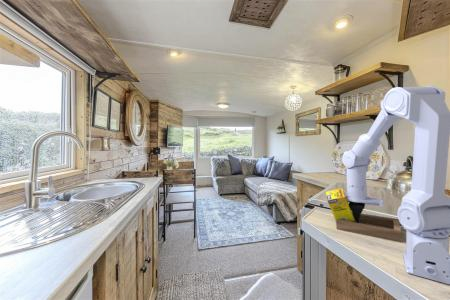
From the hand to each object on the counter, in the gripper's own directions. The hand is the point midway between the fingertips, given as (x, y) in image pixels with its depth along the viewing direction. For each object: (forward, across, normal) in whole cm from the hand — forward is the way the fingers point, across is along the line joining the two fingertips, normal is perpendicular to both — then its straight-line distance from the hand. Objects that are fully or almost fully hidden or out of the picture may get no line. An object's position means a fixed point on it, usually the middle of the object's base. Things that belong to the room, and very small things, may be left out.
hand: (357, 223), depth 70 cm
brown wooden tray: (+1, -3, 0) cm, 4 cm away
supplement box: (0, +4, -1) cm, 4 cm away
